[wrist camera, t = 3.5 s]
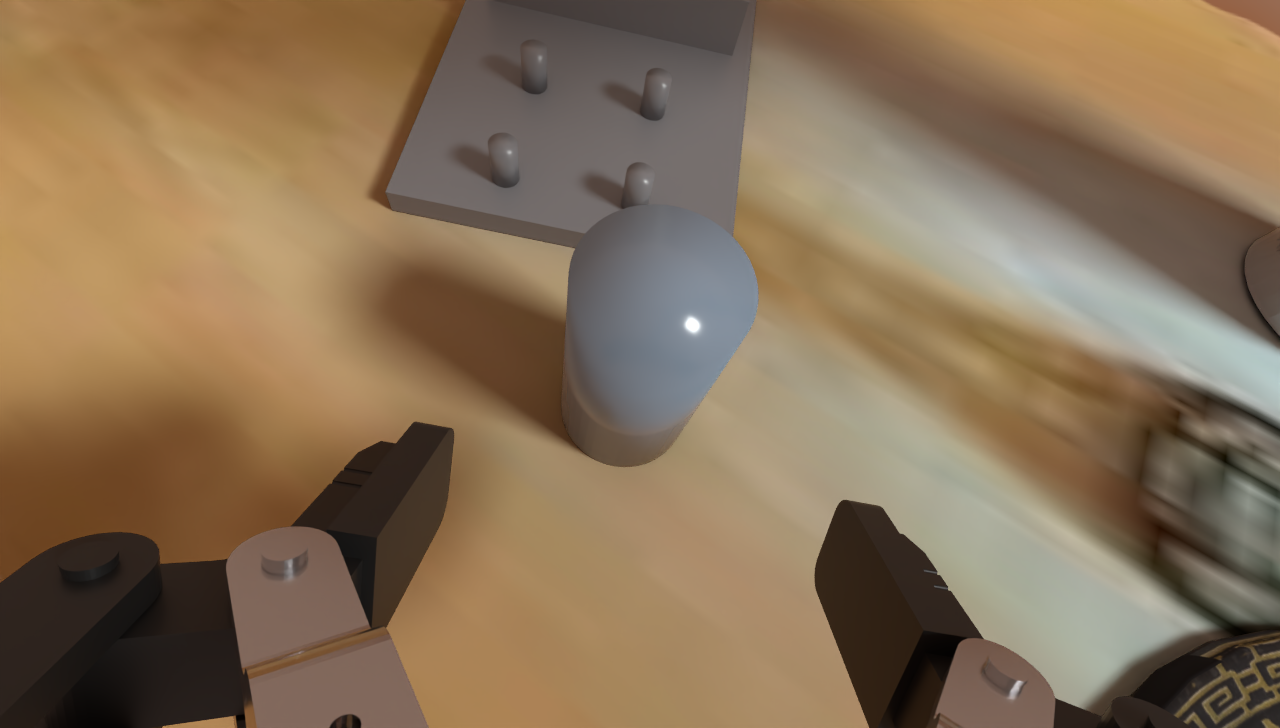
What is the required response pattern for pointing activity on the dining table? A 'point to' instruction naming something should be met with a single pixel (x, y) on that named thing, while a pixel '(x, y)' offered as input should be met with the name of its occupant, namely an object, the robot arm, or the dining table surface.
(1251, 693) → the decorative plate
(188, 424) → the dining table surface
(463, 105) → the dish rack
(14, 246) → the dining table surface
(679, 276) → the grey dome-topped cylinder
